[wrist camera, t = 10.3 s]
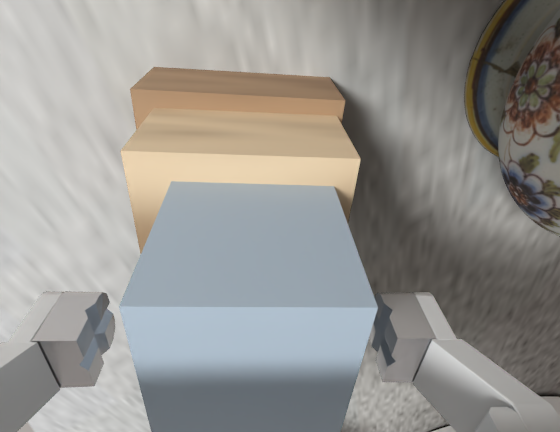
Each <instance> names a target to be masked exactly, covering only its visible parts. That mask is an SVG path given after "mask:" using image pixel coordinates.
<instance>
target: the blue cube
mask: <svg viewBox="0 0 560 432" xmlns="http://www.w3.org/2000/svg"><path fill="white" fill-rule="evenodd" d="M119 308H120V312H121V316H122V320H123V323H124V327H125V331H126V335H127V339H128V343H129V347H130V350H131V354H132V358H133V362H134V366H135V370H136V374H137V377H138V381H139V385H140V389H141V393H142V397H143V400H144V404H145V408H146V412H147V416H148V420H149V424H150V427H151V431H152V432H341V428H342V425H343V422H344V419H345V415H346V412H347V409H348V405H349V402H350V399H351V395H352V392H353V389H354V385H355V382H356V379H357V376H358V372H359V369H360V366H361V362H362V359H363V356H364V352H365V349H366V346H367V342H368V339H369V336H370V333H371V329H372V326H373V323H374V319H375V316H376V313H377V309H378V306H377V303H376V301H375V298H374V295H373V292H372V290H371V287H370V284H369V281H368V279H367V276H366V273H365V270H364V267H363V265H362V262H361V259H360V256H359V254H358V251H357V248H356V245H355V243H354V240H353V237H352V234H351V232H350V229H349V226H348V223H347V220H346V218H345V215H344V212H343V209H342V207H341V204H340V201H339V198H338V196H337V193H336V190H335V187H334V186H310V185H277V184H244V183H211V182H178V181H171V183H170V186H169V188H168V190H167V193H166V195H165V198H164V200H163V202H162V205H161V207H160V210H159V212H158V214H157V217H156V219H155V222H154V224H153V226H152V229H151V231H150V234H149V236H148V238H147V241H146V243H145V246H144V248H143V250H142V253H141V255H140V258H139V260H138V262H137V265H136V267H135V270H134V272H133V274H132V277H131V279H130V282H129V284H128V286H127V289H126V291H125V294H124V296H123V298H122V301H121V303H120V306H119Z"/></svg>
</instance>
